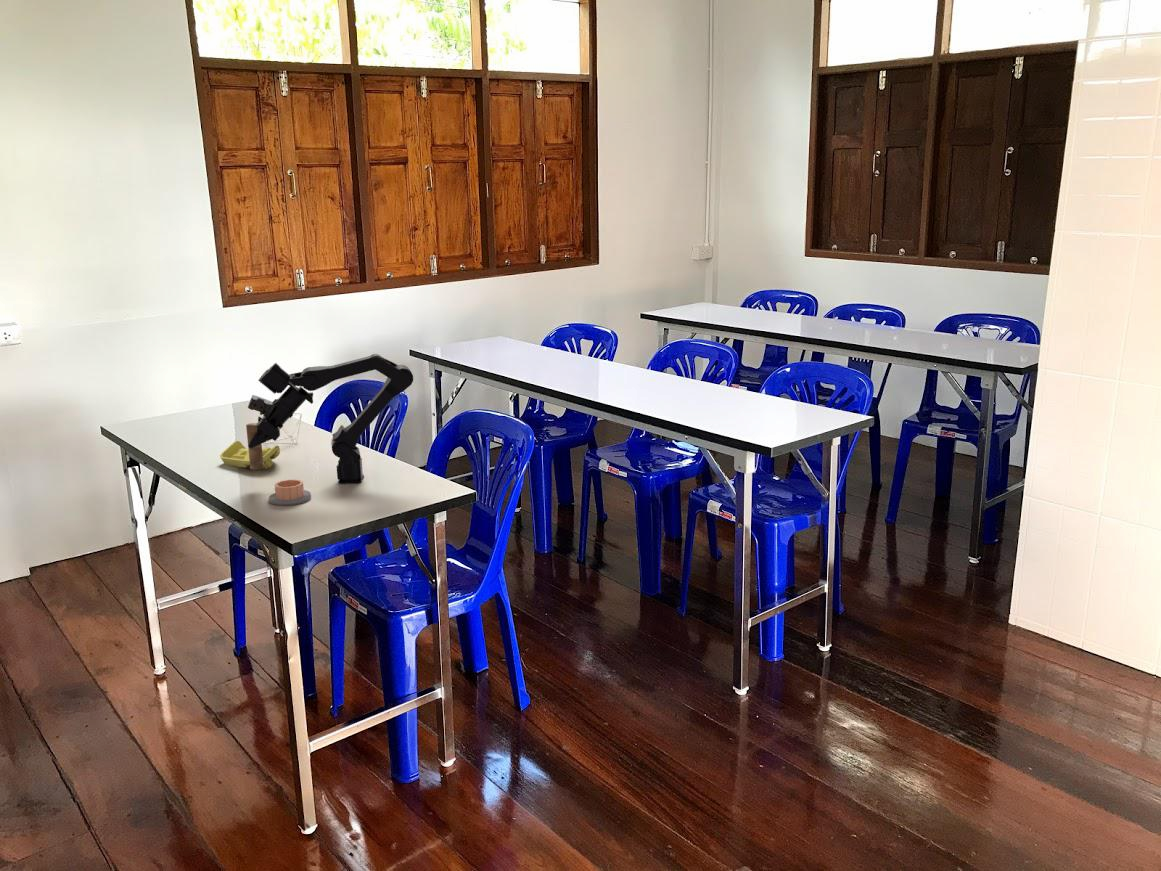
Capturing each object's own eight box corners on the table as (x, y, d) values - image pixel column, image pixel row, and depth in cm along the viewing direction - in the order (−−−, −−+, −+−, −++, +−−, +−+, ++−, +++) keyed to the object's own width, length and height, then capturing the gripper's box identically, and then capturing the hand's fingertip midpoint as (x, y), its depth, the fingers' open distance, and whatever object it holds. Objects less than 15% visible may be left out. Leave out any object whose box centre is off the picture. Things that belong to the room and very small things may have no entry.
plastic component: (216, 457, 296) (239, 437, 302) (228, 475, 300) (251, 455, 306) (258, 462, 285) (280, 441, 291) (270, 481, 289) (292, 460, 295)
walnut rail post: (265, 465, 274) (261, 422, 271) (261, 469, 271) (257, 426, 267) (252, 465, 274) (247, 423, 271) (248, 469, 270) (244, 426, 267)
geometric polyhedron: (266, 447, 316) (264, 420, 313) (263, 439, 325) (261, 413, 323) (305, 443, 320) (304, 417, 318) (301, 435, 330) (299, 409, 328)
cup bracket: (314, 492, 270) (313, 476, 269) (306, 505, 259) (305, 489, 258) (274, 493, 269) (273, 478, 268) (264, 506, 258) (263, 490, 257)
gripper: (265, 379, 276) (228, 419, 276) (262, 392, 259) (223, 435, 259) (296, 404, 280) (260, 443, 280) (295, 419, 263) (256, 461, 263)
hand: (249, 445), depth 270 cm, fingers closed on walnut rail post, 4 cm apart
